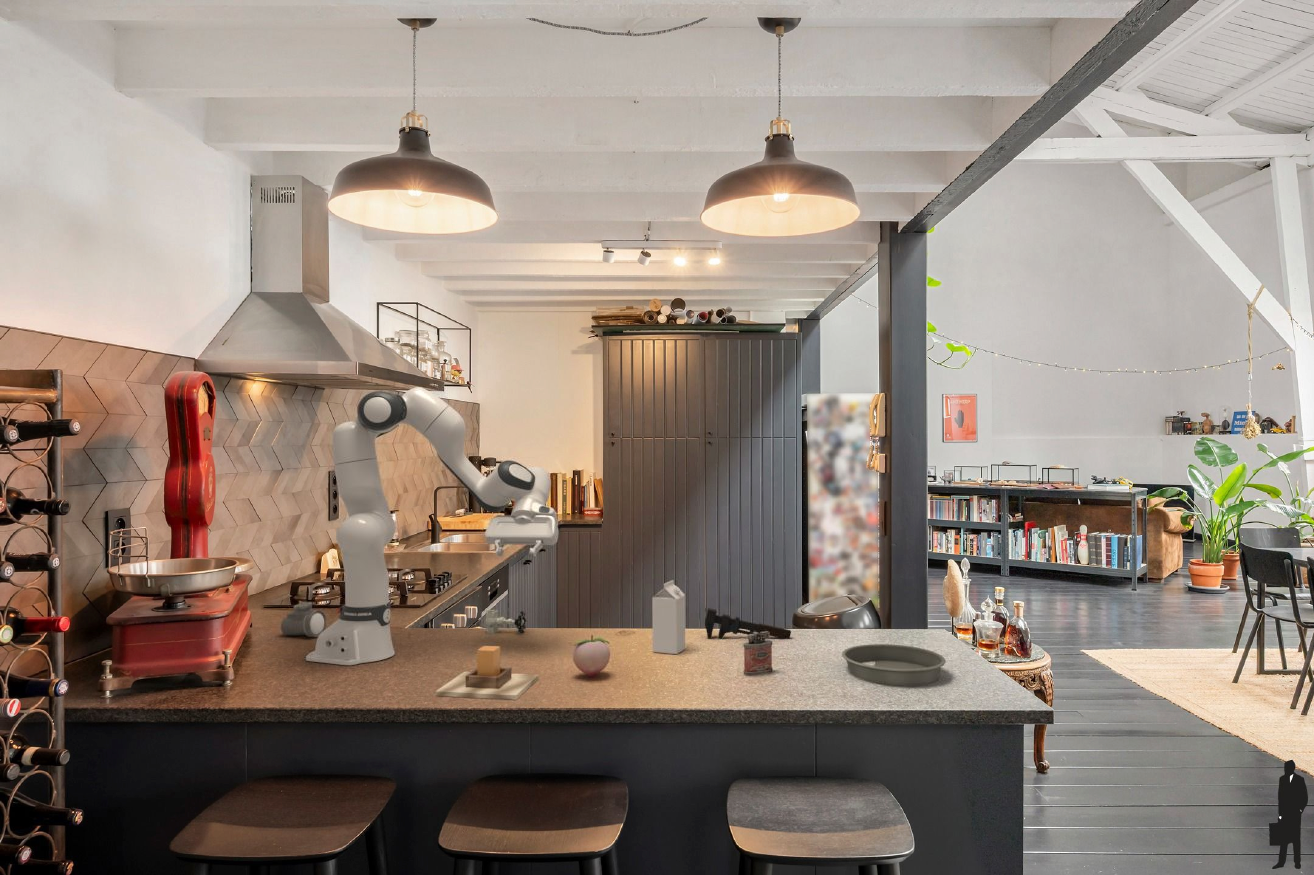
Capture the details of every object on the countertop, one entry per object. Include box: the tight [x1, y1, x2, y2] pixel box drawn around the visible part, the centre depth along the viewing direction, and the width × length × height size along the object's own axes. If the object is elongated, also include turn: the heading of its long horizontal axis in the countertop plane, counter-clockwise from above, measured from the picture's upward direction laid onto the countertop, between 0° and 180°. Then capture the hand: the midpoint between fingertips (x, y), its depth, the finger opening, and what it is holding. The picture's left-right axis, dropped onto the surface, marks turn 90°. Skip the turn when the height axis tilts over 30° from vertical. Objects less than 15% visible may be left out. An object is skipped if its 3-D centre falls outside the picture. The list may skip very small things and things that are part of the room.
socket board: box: [435, 666, 540, 701], centre depth 179 cm, size 19×16×4 cm
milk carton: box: [651, 579, 686, 655], centre depth 212 cm, size 7×7×19 cm
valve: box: [484, 609, 527, 634], centre depth 234 cm, size 7×7×12 cm
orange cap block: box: [476, 645, 501, 677], centre depth 179 cm, size 4×4×8 cm
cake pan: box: [841, 643, 946, 687], centre depth 190 cm, size 25×25×4 cm
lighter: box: [742, 631, 774, 677], centre depth 190 cm, size 8×3×10 cm, turn 117°
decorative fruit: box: [572, 634, 611, 677], centre depth 187 cm, size 9×8×10 cm
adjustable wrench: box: [704, 607, 792, 640], centre depth 226 cm, size 8×3×25 cm
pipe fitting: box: [280, 601, 328, 638], centre depth 231 cm, size 12×8×10 cm
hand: (515, 555), depth 206 cm, fingers open, 8 cm apart
